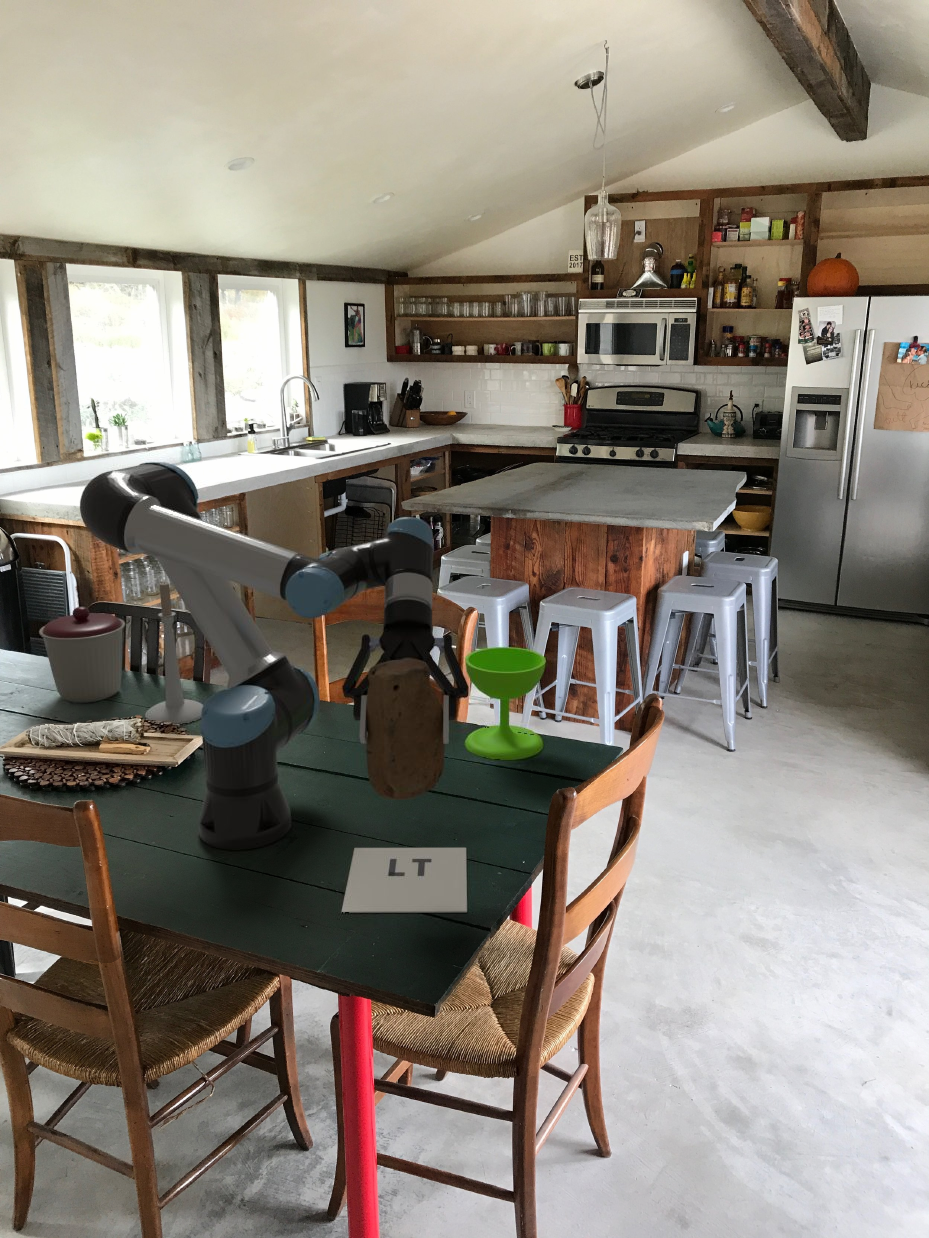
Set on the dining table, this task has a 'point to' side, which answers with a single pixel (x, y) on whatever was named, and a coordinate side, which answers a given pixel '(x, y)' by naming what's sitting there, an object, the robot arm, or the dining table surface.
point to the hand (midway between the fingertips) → (404, 740)
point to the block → (403, 729)
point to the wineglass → (504, 699)
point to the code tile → (407, 881)
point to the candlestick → (172, 674)
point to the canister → (85, 654)
